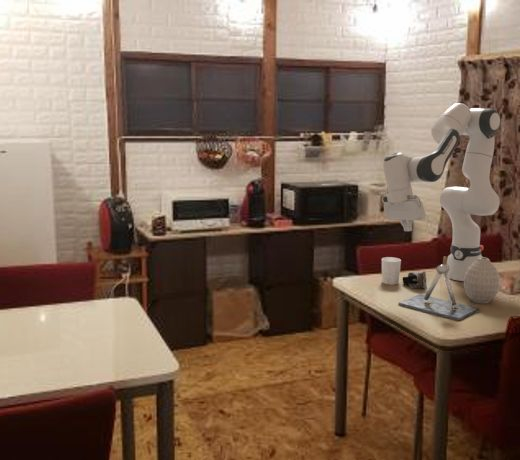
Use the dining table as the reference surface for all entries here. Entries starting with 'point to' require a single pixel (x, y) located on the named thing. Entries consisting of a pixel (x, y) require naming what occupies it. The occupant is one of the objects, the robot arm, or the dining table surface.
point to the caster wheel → (416, 279)
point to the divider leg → (435, 280)
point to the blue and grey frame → (440, 303)
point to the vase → (481, 281)
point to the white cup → (390, 270)
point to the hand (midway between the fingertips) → (408, 230)
